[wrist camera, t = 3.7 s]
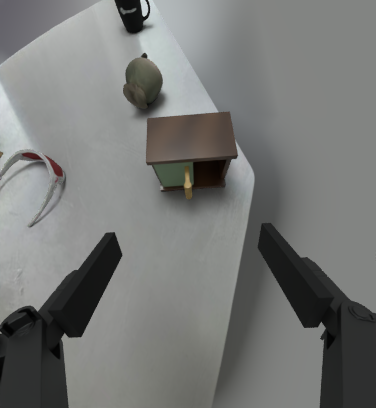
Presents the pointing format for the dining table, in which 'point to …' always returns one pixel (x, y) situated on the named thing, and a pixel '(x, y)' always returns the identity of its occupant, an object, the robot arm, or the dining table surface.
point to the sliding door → (176, 175)
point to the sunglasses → (54, 169)
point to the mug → (132, 14)
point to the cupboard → (193, 146)
